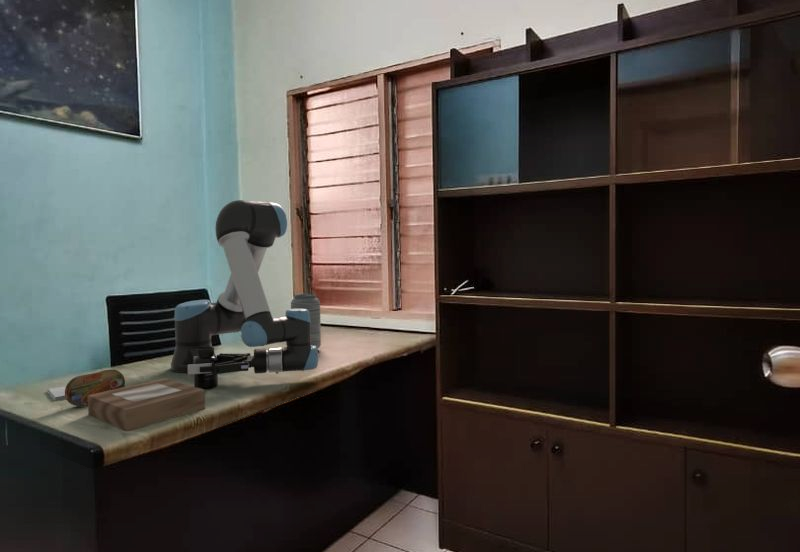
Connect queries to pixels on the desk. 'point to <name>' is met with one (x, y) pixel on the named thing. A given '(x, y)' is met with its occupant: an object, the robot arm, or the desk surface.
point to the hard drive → (57, 393)
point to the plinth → (145, 403)
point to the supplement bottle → (205, 379)
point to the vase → (314, 308)
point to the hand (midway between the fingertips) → (191, 365)
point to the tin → (92, 386)
